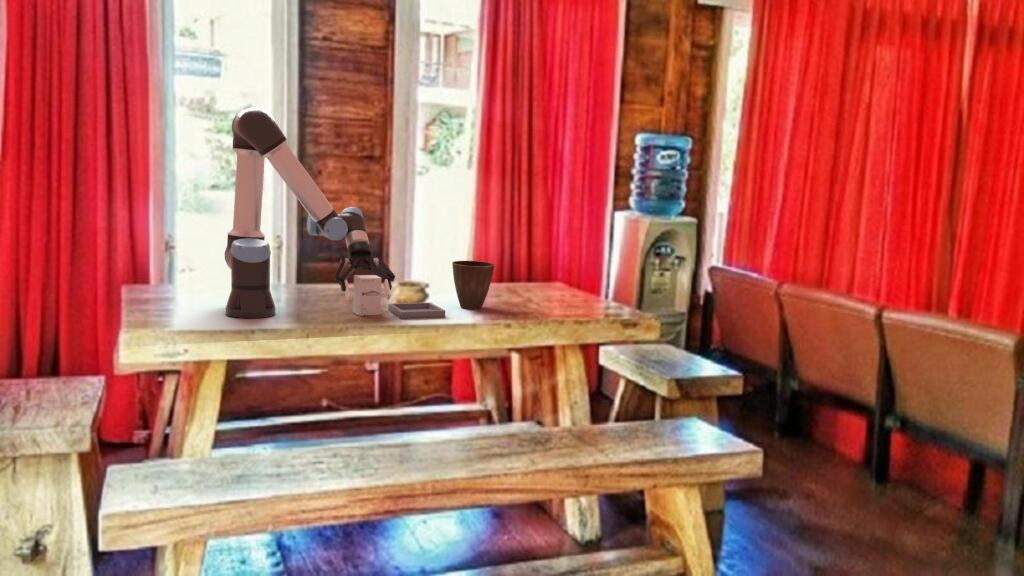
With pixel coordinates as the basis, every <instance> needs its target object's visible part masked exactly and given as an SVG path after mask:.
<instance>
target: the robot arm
mask: <svg viewBox="0 0 1024 576" xmlns="http://www.w3.org/2000/svg"><path fill="white" fill-rule="evenodd" d="M231 131H232V150H233V152H234V153H235V154H236V169H235V188H234V202H233V203H234V206H233V221H232V222H233V223H232V229H231V230H229V232H227V238H226V241H227V242H226V243H227V244H226V247H225V251H224V261H225V262H226V265H227V266H228V268H229V269H230V273H231V276H230V277H231V279H230V280H231V284H230V285H231V290H230V293H229V296H228V300H227V301H226V305H225V315H226V314H227V315H226V316H228V315H229V316H228V317H231V316H233V317H232V318H237V317H239V319H261V318H268V317H271V316H272V317H273V316H274V315H276V304H275V301H274V298H273V296H272V293H271V268H270V267H271V247H270V243H269V242H267V241H265V234H264V233H263V232H262V231H261V225H262V224H261V223H262V222H261V221H262V207H263V206H262V205H263V193H264V192H263V191H264V179H265V175H264V173H265V161H266V159H267V160H268V162H269V163H270V164H271V166H272V167H273V169H274V170H275V171H276V172H277V173H278V175H279V176H280V178H281V179H282V181H283V182H284V183H285V184H286V186H287V187H288V188H289V190H290V191H291V192H292V194H293V196H295V197H296V199H297V200H298V201H299V202H300V204H301V206H302V207H303V208H304V210H305V211H306V212H307V213H308V216H307V221H306V228H307V232H308V234H309V235H310V236H315V237H316V236H317V237H318V236H322V237H325V238H327V239H328V240H330V241H340V240H342V239H345V243H346V248H347V254H348V258H347V257H346V256H344V255H342V256H341V257H340V261H339V264H340V265H339V266H338V269H337V272H336V273H335V276H334V280H333V282H334V283H335V284H336V283H338V284H339V286H340V289H341V292H344V295H345V299H346V300H345V301H346V302H349V300H350V297H351V293H350V289H349V282H348V279H349V278H350V276H351V274H353V273H354V272H355V270H357V271H360V272H361V271H369V272H370V273H373V275H376V276H378V277H381V281H383V287H384V293H385V297H386V300H387V301H389V300H390V299H391V297H392V293H391V291H392V288H393V285H392V282H395V279H396V275H395V273H393V271H392V270H391V269H390V268H389V267H388V266H387V264H386V263H385V261H383V257H382V256H380V255H378V256H377V257H373V255H372V251H371V246H370V242H369V237H368V232H367V228H366V223H365V218H364V216H363V215H364V214H363V213H362V210H361V209H360V208H359V207H355V206H349V207H346V208H344V209H343V210H342V211H341V213H337V211H336V210H335V208H334V207H333V206H332V204H331V203H330V202H329V200H328V198H327V197H326V196H325V194H324V193H323V192H322V190H321V189H320V187H318V185H317V184H316V182H315V181H314V180H313V178H312V176H310V174H309V172H308V171H307V169H305V167H304V166H303V164H302V163H301V162H300V161H299V159H298V157H297V156H296V155H295V154H294V152H293V150H292V149H291V148H290V147H289V145H288V138H287V137H286V136H285V134H284V133H283V131H282V130H281V128H280V126H279V125H278V123H277V122H276V120H275V118H274V117H273V115H272V114H271V113H270V112H268V111H267V110H266V109H263V108H260V107H250V108H245V109H242V110H240V111H239V112H238V113H236V115H235V116H234V118H233V120H232V122H231ZM347 264H349V265H350V266H349V268H348V269H347V270H346V271H345V273H344V274H342V272H343V269H344V267H345V266H346V265H347ZM341 274H342V276H341Z"/></svg>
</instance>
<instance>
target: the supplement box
mask: <svg viewBox="0 0 1024 576" xmlns="http://www.w3.org/2000/svg"><path fill="white" fill-rule="evenodd" d="M352 296H353V299H352V300H353V302H352V313H354V314H356V315H357V316H358V315H359V316H358V317H363V316H364V315H365V316H381V309H382V308H381V305H382V304H381V303H382V302H381V301H382V279H381V277H378V276H377V275H375V274H355V275H353V295H352Z"/></svg>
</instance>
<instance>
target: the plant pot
mask: <svg viewBox="0 0 1024 576" xmlns="http://www.w3.org/2000/svg"><path fill="white" fill-rule="evenodd" d="M451 265H452V274H453V283H454V288H455V292H456V296H457V299H458V303H459V306H460V308H461V309H464V310H470V309H472V310H473V309H477V310H481V309H482V308H483V305H484V303H485V300H486V298H487V296H488V293H489V290H490V286H491V282H492V279H493V276H494V270H495V264H494V263H492V262H488V261H487V262H486V261H480V260H479V261H478V260H455V261H452V264H451ZM472 310H471V311H472Z"/></svg>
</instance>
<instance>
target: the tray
mask: <svg viewBox="0 0 1024 576" xmlns="http://www.w3.org/2000/svg"><path fill="white" fill-rule="evenodd" d="M387 305H388V306H387V307H388V308H387V309H388V311H387V312H389V313H391V314H392V315H394V316H396V317H397V318H399V319H400V320H411V319H412V320H417V319H418V320H419V319H422V320H423V319H443V318H444V319H445V318H446V310H445V309H444V308H441V307H439V306H438V305H436V304H434V303H433V302H402V303H401V302H399V303H388V304H387Z"/></svg>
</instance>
